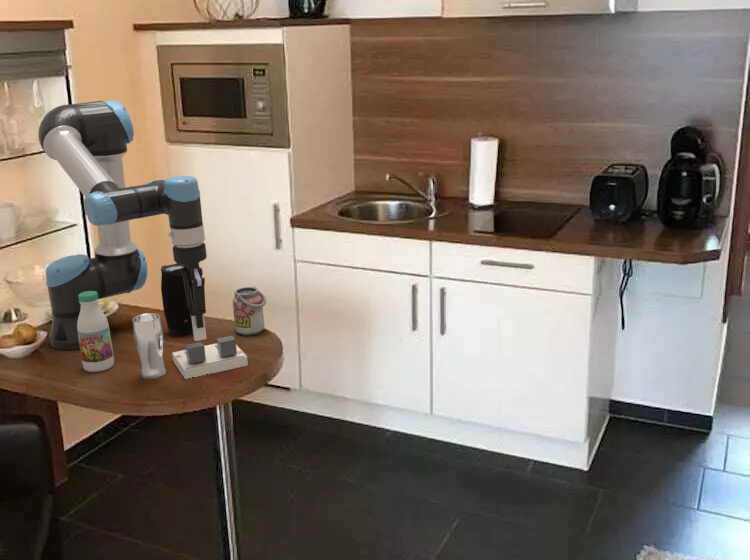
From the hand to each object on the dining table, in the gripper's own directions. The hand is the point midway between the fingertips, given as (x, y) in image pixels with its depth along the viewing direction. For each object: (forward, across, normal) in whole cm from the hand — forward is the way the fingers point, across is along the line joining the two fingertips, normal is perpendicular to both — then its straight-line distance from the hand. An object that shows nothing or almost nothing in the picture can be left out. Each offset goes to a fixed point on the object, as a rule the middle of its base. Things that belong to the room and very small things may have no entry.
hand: (200, 338), depth 199 cm
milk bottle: (+11, -24, -22) cm, 34 cm away
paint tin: (+11, -26, +20) cm, 35 cm away
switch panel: (+11, -10, +4) cm, 15 cm away
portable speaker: (+11, -36, +3) cm, 38 cm away
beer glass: (+11, -11, -10) cm, 19 cm away
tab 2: (+8, -7, +8) cm, 13 cm away
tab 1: (+8, -7, 0) cm, 11 cm away
